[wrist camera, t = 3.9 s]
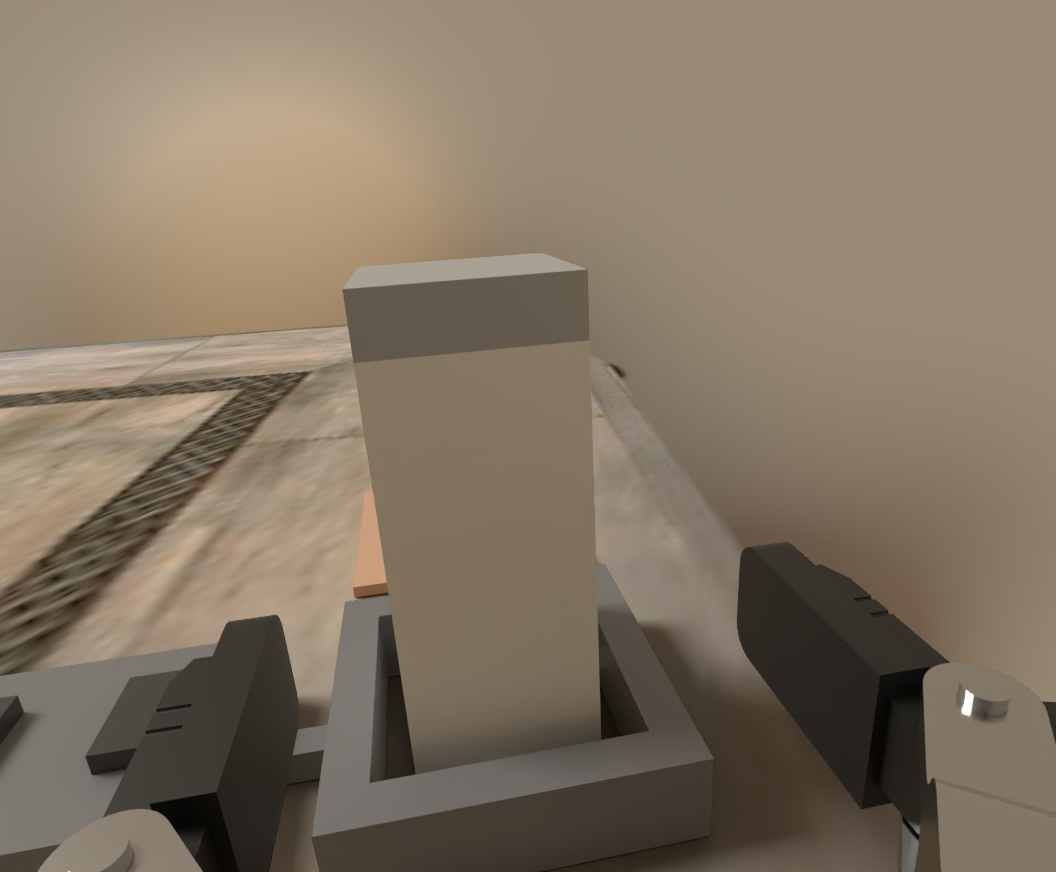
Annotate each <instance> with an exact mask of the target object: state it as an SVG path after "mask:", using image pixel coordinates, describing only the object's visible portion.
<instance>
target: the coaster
mask: <svg viewBox="0 0 1056 872" xmlns="http://www.w3.org/2000/svg"><path fill="white" fill-rule="evenodd" d="M353 590H354V595H355V598H356V597H363V596H369V595H376V594H383V593H388V588H387V581H386V574H385V568H384V561H383V554H382V548H381V541H380V534H379V528H378V521H377V515H376V508H375V501H374V495H373V491H371V492H365V498H364V506H363V514H362V522H361V529H360V537H359V545H358V553H357V561H356V569H355V577H354V584H353Z"/></svg>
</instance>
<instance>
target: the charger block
mask: <svg viewBox="0 0 1056 872" xmlns="http://www.w3.org/2000/svg"><path fill="white" fill-rule="evenodd" d="M587 274H588V273H587V269H585V268H582V267H579V266H576V265H573V264H571V263H568V262H565V261H562V260H559V259H557V258H554V257H551V256H548V255H545V254H543V253H536V254H522V255H510V256H496V257H484V258H471V259H457V260H444V261H431V262H419V263H418V262H417V263H405V264H391V265H378V266H366V267H358V268H357V269H356V271H355V272H354V274H353V275H352V276H351V278H350V279H349V281H348V282H347V284H346V285H345V286H344V288H343V295H344V302H345V308H346V315H347V322H348V329H349V335H350V342H351V349H352V355H353V362H354V368H355V375H356V382H357V388H358V395H359V402H360V408H361V415H362V422H363V428H364V435H365V442H366V448H367V455H368V461H369V468H370V475H371V481H372V488H373V495H374V501H375V508H376V515H377V521H378V528H379V534H380V541H381V548H382V554H383V561H384V568H385V574H386V581H387V588H388V594H389V601H390V608H391V614H392V621H393V627H394V634H395V641H396V647H397V654H398V661H399V667H400V674H401V681H402V687H403V694H404V700H405V707H406V714H407V720H408V727H409V734H410V740H411V747H412V754H413V760H414V767H415V774H421V773H426V772H432V771H437V770H443V769H448V768H453V767H459V766H464V765H469V764H475V763H480V762H486V761H491V760H496V759H502V758H507V757H513V756H518V755H523V754H529V753H534V752H539V751H545V750H550V749H556V748H561V747H566V746H572V745H577V744H582V743H588V742H593V741H599V740H601V712H600V678H599V644H598V611H597V577H596V543H595V509H594V476H593V442H592V408H591V374H590V343H589V341H590V340H589V308H588V275H587Z"/></svg>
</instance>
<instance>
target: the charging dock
mask: <svg viewBox="0 0 1056 872" xmlns="http://www.w3.org/2000/svg"><path fill="white" fill-rule="evenodd" d="M596 577H597V611H598V644H599V678H600V687H601V689H602V692H603V694H604V697H605V699H606V701H607V704H608V706H609V709H610V711H611V714H612V716H613V718H614V721H615V723H616V726H617V728H618V731H619V733H620V735H621V736H620V737H615V738H609V739H604V740H599V741H593V742H588V743H582V744H577V745H572V746H566V747H561V748H556V749H550V750H545V751H539V752H534V753H529V754H523V755H518V756H513V757H507V758H502V759H496V760H491V761H486V762H480V763H475V764H469V765H464V766H459V767H453V768H448V769H443V770H437V771H432V772H426V773H421V774H416V775H410V776H405V777H400V778H394V779H389V780H386V747H387V712H388V677H393V676H399V675H401V674H400V667H399V661H398V654H397V647H396V641H395V634H394V627H393V621H392V614H391V608H390V601H389V596H382V597H375V598H368V599H362V600H355V601H348V602H345V607H344V614H343V621H342V628H341V635H340V642H339V649H338V656H337V663H336V670H335V677H334V684H333V691H332V698H331V705H330V712H329V719H328V724H327V725H322V726H316V727H310V728H304V729H298V731H297V737H296V741H295V746H294V751H293V756H292V761H291V766H290V771H289V776H288V781H287V784H293V783H298V782H304V781H309V780H315V779H320V782H319V789H318V796H317V803H316V810H315V817H314V824H313V831H312V841H313V845H314V849H315V854H316V858H317V863H318V867H319V871H320V872H542V871H547V870H551V869H556V868H561V867H565V866H570V865H575V864H579V863H584V862H589V861H594V860H598V859H603V858H608V857H612V856H617V855H622V854H627V853H631V852H636V851H641V850H645V849H650V848H655V847H660V846H664V845H669V844H674V843H678V842H683V841H688V840H692V839H697V838H702V837H707V836H711V820H712V796H713V772H714V758H713V756H712V754H711V752H710V750H709V749H708V747H707V745H706V743H705V742H704V740H703V738H702V736H701V734H700V733H699V731H698V729H697V727H696V726H695V724H694V722H693V720H692V718H691V717H690V715H689V713H688V711H687V710H686V708H685V706H684V704H683V702H682V701H681V699H680V697H679V695H678V694H677V692H676V690H675V688H674V686H673V685H672V683H671V681H670V679H669V678H668V676H667V674H666V672H665V670H664V669H663V667H662V665H661V663H660V662H659V660H658V658H657V656H656V654H655V653H654V651H653V649H652V647H651V646H650V644H649V642H648V640H647V638H646V637H645V635H644V633H643V631H642V630H641V628H640V626H639V624H638V623H637V621H636V619H635V617H634V615H633V614H632V612H631V610H630V608H629V607H628V605H627V603H626V601H625V599H624V598H623V596H622V594H621V592H620V591H619V589H618V587H617V585H616V583H615V582H614V580H613V578H612V576H611V575H610V573H609V571H608V569H607V567H606V566H605V564H600V565H596ZM217 644H218V643H216V644H209V645H203V646H196V647H189V648H183V649H176V650H170V651H163V652H156V653H150V654H143V655H137V656H130V657H123V658H117V659H110V660H104V661H97V662H90V663H84V664H77V665H71V666H64V667H57V668H51V669H44V670H38V671H31V672H24V673H18V674H11V675H5V676H0V872H38V870H39V869H40V867H41V866H42V864H43V863H44V862H45V861H46V859H47V858H48V857H49V856H50V855H51V854H52V853H53V852H54V851H55V850H56V849H57V848H58V847H59V846H60V845H61V844H62V843H63V842H64V841H66V840H67V839H68V838H70V837H71V836H72V835H73V834H75V833H76V832H78V831H79V830H81V829H82V828H84V827H86V826H87V825H89V824H91V823H93V822H95V821H97V820H99V819H101V818H103V816H104V814H105V812H106V810H107V808H108V806H109V804H110V802H111V800H112V798H113V796H114V794H115V792H116V789H117V787H118V785H119V783H120V781H121V779H122V777H123V775H124V773H125V771H126V769H127V767H128V765H129V763H130V761H131V759H132V757H133V755H134V753H135V751H136V749H137V747H138V745H139V743H140V741H141V739H142V737H144V736H145V735H146V732H145V731H146V729H147V727H148V725H149V723H150V720H151V718H152V716H153V714H156V708H157V706H158V704H159V702H160V700H161V698H162V696H163V694H164V692H165V690H166V688H167V686H168V684H169V683H170V682H171V681H172V680H173V679H174V678H175V677H176V676H177V675H178V674H179V673H180V672H181V671H182V670H183V669H184V668H185V667H186V666H187V665H188V664H189V663H190V662H191V661H192V660H193V659H196V658H203V657H210V656H213V654H214V651H215V649H216V647H217Z"/></svg>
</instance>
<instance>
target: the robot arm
mask: <svg viewBox="0 0 1056 872" xmlns="http://www.w3.org/2000/svg"><path fill="white" fill-rule="evenodd" d="M737 629H738V635H739V639H740V642H741V645H742V648H743V650H744V652H745V654H746V656H747V657H748V659H749V660H750V662H751V663H752V664H753V666H754V667H755V668H756V670H757V671H758V672H759V674H760V675H761V676H762V678H763V679H764V680H765V682H766V683H767V684H768V686H769V687H770V688H771V690H772V691H773V692H774V694H775V695H776V696H777V698H778V699H779V700H780V702H781V703H782V704H783V705H784V707H785V708H786V709H787V711H788V712H789V713H790V715H791V716H792V717H793V719H794V720H795V721H796V723H797V724H798V725H799V727H800V728H801V729H802V731H803V732H804V733H805V735H806V736H807V737H808V739H809V740H810V741H811V743H812V744H813V745H814V747H815V748H816V749H817V751H818V752H819V753H820V755H821V756H822V757H823V759H824V760H825V761H826V763H827V764H828V765H829V767H830V768H831V769H832V771H833V772H834V773H835V775H836V776H837V777H838V779H839V780H840V781H841V783H842V784H843V785H844V787H845V788H846V789H847V791H848V792H849V793H850V795H851V796H852V797H853V798H854V800H855V801H856V802H857V804H858V805H859V806H860V808H861V809H864V808H869V807H874V806H879V805H883V804H888V803H893V804H894V805H895V807H896V808H897V809H898V810H899V812H900V813H901V815H900V821H899V828H898V872H1056V702H1042V701H1041V700H1040V698H1039V697H1038V696H1037V695H1036V694H1035V693H1034V692H1033V691H1031V690H1030V689H1029V688H1028V687H1027V686H1025V685H1023V684H1022V683H1020V682H1019V681H1017V680H1015V679H1014V678H1012V677H1010V676H1008V675H1006V674H1003V673H1001V672H999V671H996V670H993V669H990V668H987V667H983V666H979V665H974V664H969V663H950V662H949V661H947V660H946V659H945V658H944V657H942V655H940V654H939V653H938V652H937V651H936V650H934V649H933V648H932V647H931V646H930V645H928V644H927V643H926V642H925V641H923V640H922V639H921V638H920V637H919V636H918V635H917V634H915V633H914V632H913V631H912V630H911V629H910V628H908V627H907V626H906V625H905V624H903V623H902V622H901V621H900V620H899V619H898V618H896V617H895V616H894V615H893V614H890V615H889V613H888V610H887V609H886V608H885V607H883V606H882V605H881V604H880V603H879V602H877V601H876V600H875V599H874V600H872V599H871V596H870V595H869V594H868V593H867V592H866V591H864V590H863V589H862V588H861V587H860V586H858V585H857V584H856V583H855V582H854V581H853V580H851V579H850V578H848V577H846V576H844V575H842V574H840V573H838V572H835V571H833V570H831V569H829V568H827V567H825V566H823V565H817V566H816V565H814V564H813V563H812V562H811V561H810V560H809V559H807V557H805V556H804V555H803V554H802V553H801V552H800V551H799V550H797V549H796V548H795V547H794V546H793V545H792V544H790V543H788V542H781V543H774V544H767V545H760V546H753V547H747V548H745V549H744V550H743V551H742V554H741V558H740V572H739V592H738V611H737ZM298 716H299V714H298V698H297V691H296V687H295V682H294V677H293V673H292V668H291V664H290V659H289V654H288V650H287V645H286V641H285V636H284V631H283V627H282V623H281V621H280V618H279V617H278V616H277V615H271V616H265V617H258V618H251V619H244V620H237V621H230V622H228V623H227V624H226V626H225V628H224V630H223V632H222V635H221V637H220V640H219V642H218V644H217V647H216V649H215V651H214V654H213V656H210V657H203V658H196V659H193V660H192V661H191V662H190V663H189V664H188V665H187V666H186V667H185V668H184V669H183V670H182V671H181V672H180V673H179V674H178V675H177V676H176V677H175V678H174V679H173V680H172V681H171V682H170V683H169V684H168V686H167V688H166V690H165V692H164V694H163V696H162V698H161V700H160V702H159V704H158V706H157V708H156V714H153V716H152V718H151V720H150V723H149V725H148V727H147V729H146V731H145V732H146V735H145V736H144V737H142V739H141V741H140V743H139V745H138V747H137V749H136V751H135V753H134V755H133V757H132V759H131V761H130V763H129V765H128V767H127V769H126V771H125V773H124V775H123V777H122V779H121V781H120V783H119V785H118V787H117V789H116V792H115V794H114V796H113V798H112V800H111V802H110V804H109V806H108V808H107V810H106V812H105V814H104V816H103V818H101V819H99V820H97V821H95V822H93V823H91V824H89V825H87V826H86V827H84V828H82V829H81V830H79V831H78V832H76V833H75V834H73V835H72V836H71V837H70V838H68V839H67V840H66V841H64V842H63V843H62V844H61V845H60V846H59V847H58V848H57V849H56V850H55V851H54V852H53V853H52V854H51V855H50V856H49V857H48V858H47V859H46V861H45V862H44V863H43V864H42V866H41V867H40V869H39V870H38V872H269V869H270V864H271V859H272V854H273V849H274V844H275V839H276V834H277V830H278V825H279V820H280V815H281V810H282V805H283V800H284V795H285V790H286V786H287V781H288V776H289V771H290V766H291V761H292V756H293V751H294V746H295V741H296V737H297V731H298Z"/></svg>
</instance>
